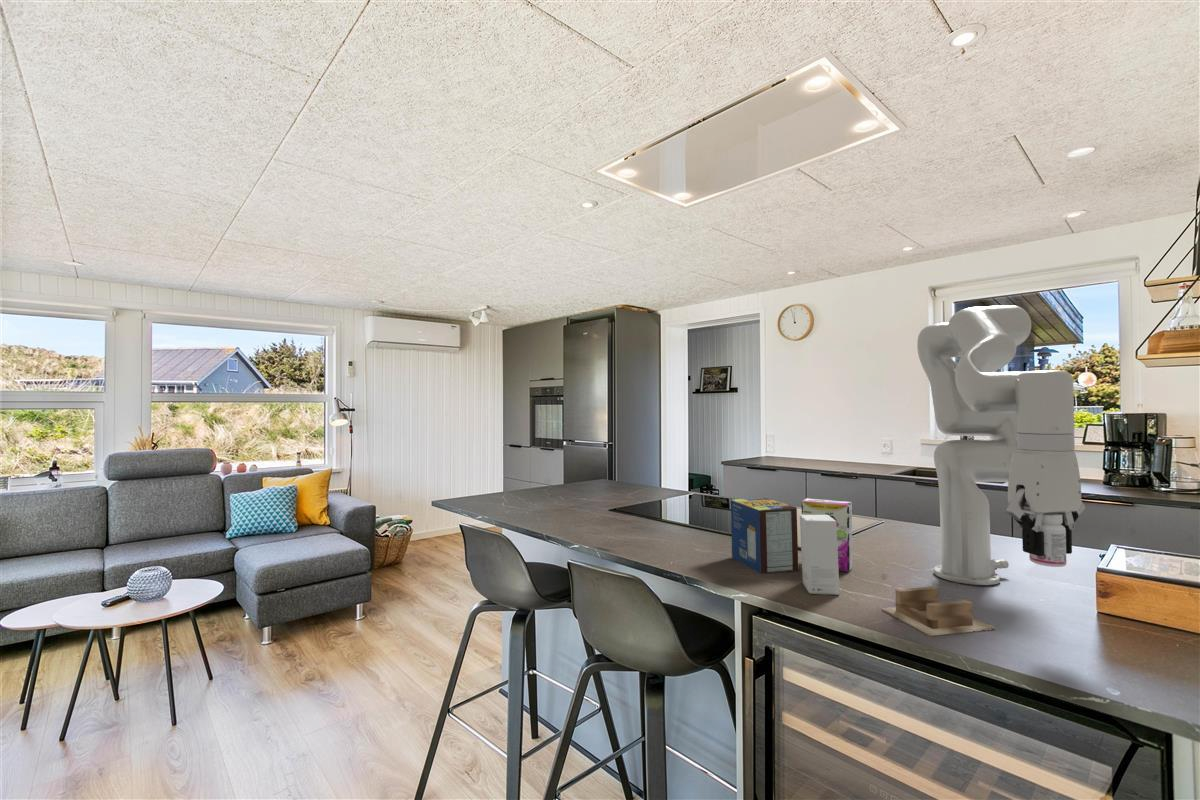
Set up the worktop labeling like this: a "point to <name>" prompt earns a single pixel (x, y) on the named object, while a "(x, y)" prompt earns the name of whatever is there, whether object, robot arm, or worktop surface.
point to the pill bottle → (1052, 541)
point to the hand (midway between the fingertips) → (1047, 551)
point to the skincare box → (819, 554)
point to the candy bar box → (843, 519)
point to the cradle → (934, 612)
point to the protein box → (764, 535)
